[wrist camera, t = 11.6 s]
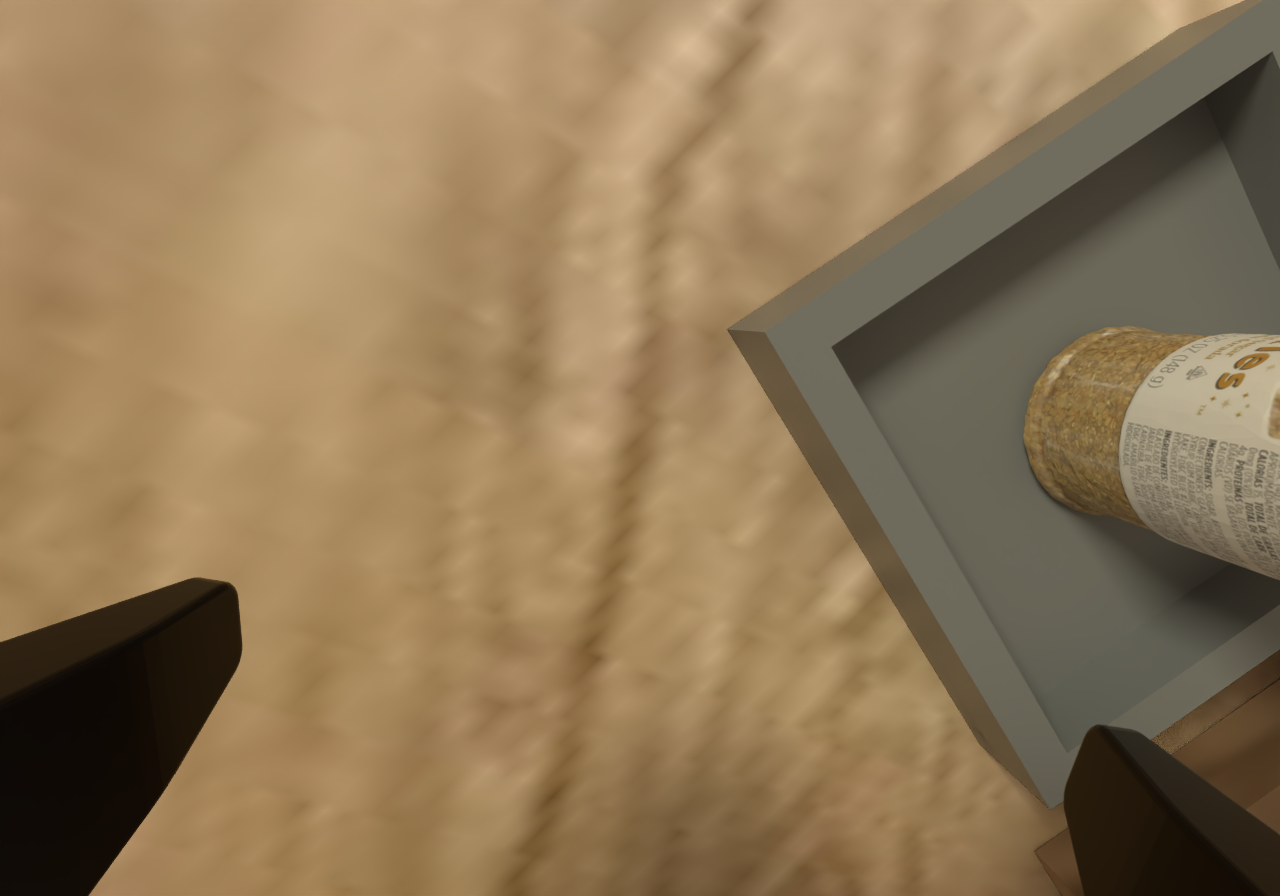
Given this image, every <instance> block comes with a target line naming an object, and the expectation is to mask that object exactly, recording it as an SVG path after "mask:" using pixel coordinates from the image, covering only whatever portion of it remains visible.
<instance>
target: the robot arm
mask: <svg viewBox="0 0 1280 896" xmlns="http://www.w3.org/2000/svg"><path fill="white" fill-rule="evenodd" d="M241 654H242V635H241V624H240V612H239V601H238V594H237V591H236V589H235V587H234V586H233V585H232V584H230V583H229V582H224V581H218V580H212V579H206V578H199V577H198V578H191V579H187V580H184V581H181V582H178V583H175V584H172V585H169V586H166V587H163V588H161V589H158V590H155V591H152V592H149V593H146V594H143V595H140V596H137V597H134V598H131V599H128V600H125V601H122V602H119V603H116V604H113V605H110V606H107V607H104V608H101V609H98V610H95V611H92V612H89V613H86V614H83V615H80V616H77V617H74V618H71V619H68V620H65V621H62V622H59V623H56V624H53V625H50V626H47V627H44V628H41V629H38V630H35V631H32V632H30V633H27V634H24V635H21V636H18V637H15V638H12V639H9V640H6V641H3V642H0V896H89V894H90V893H91V891H92V890H93V889H94V887H95V886H96V885H97V883H98V882H99V881H100V879H101V878H102V876H103V875H104V874H105V872H106V871H107V870H108V868H109V867H110V865H111V864H112V863H113V861H114V860H115V859H116V857H117V856H118V855H119V853H120V852H121V850H122V849H123V848H124V846H125V845H126V844H127V842H128V841H129V839H130V838H131V837H132V835H133V834H134V833H135V831H136V830H137V829H138V827H139V826H140V824H141V823H142V822H143V820H144V819H145V818H146V816H147V815H148V814H149V812H150V811H151V809H152V808H153V806H154V805H155V804H156V802H157V801H158V799H159V798H160V796H161V795H162V794H163V792H164V791H165V789H166V787H167V786H168V784H169V783H170V781H171V779H172V778H173V776H174V775H175V773H176V772H177V770H178V768H179V766H180V765H181V763H182V761H183V760H184V758H185V756H186V755H187V753H188V751H189V749H190V748H191V746H192V744H193V743H194V741H195V739H196V738H197V736H198V734H199V732H200V731H201V729H202V727H203V726H204V724H205V722H206V721H207V719H208V717H209V715H210V714H211V712H212V710H213V709H214V707H215V705H216V704H217V702H218V700H219V698H220V697H221V695H222V693H223V692H224V690H225V688H226V687H227V685H228V683H229V681H230V680H231V678H232V676H233V675H234V673H235V671H236V669H237V667H238V665H239V662H240V659H241ZM1063 801H1064V811H1065V816H1066V820H1067V824H1068V829H1069V833H1070V837H1071V842H1072V846H1073V851H1074V855H1075V859H1076V864H1077V868H1078V872H1079V877H1080V881H1081V885H1082V890H1083V894H1084V896H1280V834H1278V833H1277V832H1276V831H1274V830H1273V829H1272V828H1270V827H1269V826H1267V825H1266V824H1265V823H1263V822H1262V821H1261V820H1259V819H1258V818H1256V817H1255V816H1254V815H1252V814H1251V813H1250V812H1248V811H1247V810H1246V809H1244V808H1243V807H1241V806H1240V805H1239V804H1237V803H1236V802H1235V801H1233V800H1232V799H1231V798H1229V797H1228V796H1226V795H1225V794H1224V793H1222V792H1221V791H1220V790H1218V789H1217V788H1215V787H1214V786H1213V785H1211V784H1210V783H1209V782H1207V781H1206V780H1205V779H1203V778H1202V777H1200V776H1199V775H1198V774H1196V773H1195V772H1194V771H1192V770H1191V769H1190V768H1188V767H1187V766H1185V765H1184V764H1183V763H1181V762H1180V761H1179V760H1177V759H1176V758H1174V757H1173V756H1172V755H1170V754H1169V753H1168V752H1166V751H1165V750H1164V749H1162V748H1161V747H1159V746H1158V745H1157V744H1155V743H1154V742H1153V741H1151V740H1150V739H1149V738H1147V737H1146V736H1144V735H1143V734H1142V733H1140V732H1138V731H1135V730H1133V729H1127V728H1120V727H1114V726H1108V725H1102V724H1097V725H1095V726H1092V727H1091V728H1090V729H1089V730H1088V731H1087V732H1086V734H1085V736H1084V739H1083V741H1082V744H1081V746H1080V749H1079V751H1078V754H1077V756H1076V759H1075V762H1074V764H1073V767H1072V769H1071V772H1070V774H1069V777H1068V779H1067V782H1066V785H1065V789H1064V800H1063Z"/></svg>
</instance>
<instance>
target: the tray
mask: <svg viewBox="0 0 1280 896" xmlns="http://www.w3.org/2000/svg"><path fill="white" fill-rule="evenodd" d="M1128 326H1132V327H1141V328H1145V329H1149V330H1152V331H1156V332H1158V333H1165V334H1194V335H1204V336H1210V335H1214V336H1215V335H1220V334H1232V333H1236V334H1265V335H1280V0H1245V1H1242V2H1240V3H1238V4H1235V5H1233V6H1231V7H1228V8H1226V9H1224V10H1221V11H1219V12H1217V13H1214V14H1212V15H1210V16H1207V17H1205V18H1203V19H1200V20H1198V21H1196V22H1193V23H1191V24H1189V25H1186V26H1184V27H1182V28H1179V29H1178V30H1176V31H1175V32H1173V33H1172V34H1170V35H1169V36H1167V37H1166V38H1164V39H1163V40H1161V41H1160V42H1158V43H1157V44H1155V45H1154V46H1152V47H1151V48H1149V49H1148V50H1146V51H1145V52H1143V53H1142V54H1140V55H1139V56H1137V57H1136V58H1134V59H1133V60H1131V61H1130V62H1128V63H1127V64H1125V65H1124V66H1122V67H1121V68H1119V69H1118V70H1116V71H1115V72H1113V73H1112V74H1110V75H1109V76H1107V77H1106V78H1104V79H1103V80H1101V81H1100V82H1098V83H1097V84H1095V85H1094V86H1092V87H1091V88H1089V89H1088V90H1086V91H1085V92H1083V93H1082V94H1080V95H1079V96H1077V97H1076V98H1074V99H1073V100H1071V101H1070V102H1068V103H1067V104H1065V105H1064V106H1062V107H1061V108H1059V109H1058V110H1056V111H1055V112H1053V113H1052V114H1050V115H1049V116H1047V117H1046V118H1044V119H1043V120H1041V121H1040V122H1038V123H1037V124H1035V125H1034V126H1032V127H1031V128H1029V129H1028V130H1026V131H1025V132H1023V133H1022V134H1020V135H1019V136H1017V137H1016V138H1014V139H1013V140H1011V141H1010V142H1008V143H1007V144H1005V145H1004V146H1002V147H1001V148H999V149H998V150H996V151H995V152H993V153H992V154H990V155H989V156H987V157H986V158H984V159H982V160H981V161H979V162H978V163H976V164H975V165H973V166H972V167H970V168H969V169H967V170H966V171H964V172H963V173H961V174H960V175H958V176H957V177H955V178H954V179H952V180H951V181H949V182H948V183H946V184H945V185H943V186H942V187H940V188H939V189H937V190H936V191H934V192H933V193H931V194H930V195H928V196H927V197H925V198H924V199H922V200H921V201H919V202H918V203H916V204H915V205H913V206H912V207H910V208H909V209H907V210H906V211H904V212H903V213H901V214H900V215H898V216H897V217H895V218H894V219H892V220H891V221H889V222H888V223H886V224H885V225H883V226H882V227H880V228H879V229H877V230H876V231H874V232H873V233H871V234H870V235H868V236H867V237H865V238H864V239H862V240H861V241H859V242H858V243H856V244H855V245H853V246H852V247H850V248H849V249H847V250H846V251H844V252H843V253H841V254H840V255H838V256H837V257H835V258H834V259H832V260H831V261H829V262H828V263H826V264H825V265H823V266H822V267H820V268H819V269H817V270H816V271H814V272H813V273H811V274H810V275H808V276H807V277H805V278H804V279H802V280H801V281H799V282H798V283H796V284H795V285H793V286H792V287H790V288H789V289H787V290H786V291H784V292H783V293H781V294H780V295H778V296H777V297H775V298H774V299H772V300H771V301H769V302H768V303H766V304H765V305H763V306H762V307H760V308H759V309H757V310H756V311H754V312H753V313H751V314H750V315H748V316H747V317H745V318H743V319H742V320H740V321H739V322H737V323H736V324H734V325H733V326H731V327H730V328H728V329H727V330H728V331H729V333H730V335H731V336H732V338H733V340H734V341H735V343H736V345H737V346H738V348H739V350H740V351H741V353H742V355H743V356H744V358H745V359H746V361H747V363H748V364H749V366H750V368H751V369H752V371H753V373H754V374H755V376H756V378H757V379H758V381H759V382H760V384H761V386H762V387H763V389H764V391H765V392H766V394H767V396H768V397H769V399H770V401H771V402H772V404H773V405H774V407H775V409H776V410H777V412H778V414H779V415H780V417H781V419H782V420H783V422H784V424H785V425H786V427H787V428H788V430H789V432H790V433H791V435H792V437H793V438H794V440H795V442H796V443H797V445H798V447H799V448H800V450H801V451H802V453H803V455H804V456H805V458H806V460H807V461H808V463H809V465H810V466H811V468H812V470H813V471H814V473H815V474H816V476H817V478H818V479H819V481H820V483H821V484H822V486H823V488H824V489H825V491H826V493H827V494H828V496H829V497H830V499H831V501H832V502H833V504H834V506H835V507H836V509H837V511H838V512H839V514H840V516H841V517H842V519H843V520H844V522H845V524H846V525H847V527H848V529H849V530H850V532H851V534H852V535H853V537H854V539H855V540H856V542H857V543H858V545H859V547H860V548H861V550H862V552H863V553H864V555H865V557H866V558H867V560H868V562H869V563H870V565H871V566H872V568H873V570H874V571H875V573H876V575H877V576H878V578H879V580H880V581H881V583H882V585H883V586H884V588H885V589H886V591H887V593H888V594H889V596H890V598H891V599H892V601H893V603H894V604H895V606H896V608H897V609H898V611H899V612H900V614H901V616H902V617H903V619H904V621H905V622H906V624H907V626H908V627H909V629H910V631H911V632H912V634H913V635H914V637H915V639H916V640H917V642H918V644H919V645H920V647H921V649H922V650H923V652H924V654H925V655H926V657H927V659H928V660H929V662H930V663H931V665H932V667H933V668H934V670H935V672H936V673H937V675H938V677H939V678H940V680H941V682H942V683H943V685H944V686H945V688H946V690H947V691H948V693H949V695H950V696H951V698H952V700H953V701H954V703H955V705H956V706H957V708H958V709H959V711H960V713H961V714H962V716H963V718H964V719H965V721H966V723H967V724H968V726H969V728H970V729H971V731H972V732H973V734H974V736H975V737H976V739H977V741H978V742H979V744H980V745H981V746H982V747H983V748H984V749H985V750H986V751H987V752H988V753H989V754H990V755H992V756H993V757H994V758H995V759H996V760H997V761H998V762H999V763H1000V764H1001V765H1002V766H1003V767H1005V768H1006V769H1007V770H1008V771H1009V772H1010V773H1011V774H1012V775H1013V776H1014V777H1015V778H1016V779H1017V780H1019V781H1020V782H1021V783H1022V784H1023V785H1024V786H1025V787H1026V788H1027V789H1028V790H1029V791H1030V792H1032V793H1033V794H1034V795H1035V796H1036V797H1037V798H1038V799H1039V800H1040V801H1041V802H1042V803H1043V804H1044V805H1046V806H1047V807H1048V808H1049V809H1050V810H1051V809H1053V808H1054V807H1056V806H1057V805H1059V804H1060V803H1061V802H1063V800H1064V789H1065V785H1066V782H1067V779H1068V777H1069V774H1070V772H1071V769H1072V767H1073V764H1074V762H1075V759H1076V756H1077V754H1078V751H1079V749H1080V746H1081V744H1082V741H1083V739H1084V736H1085V734H1086V732H1087V731H1088V730H1089V729H1090V728H1091V727H1092V726H1095V725H1097V724H1102V725H1108V726H1114V727H1120V728H1127V729H1133V730H1135V731H1138V732H1140V733H1142V734H1143V735H1144V736H1146V737H1147V738H1149V739H1150V740H1151V739H1153V738H1154V737H1155V736H1157V735H1158V734H1160V733H1161V732H1163V731H1164V730H1165V729H1167V728H1168V727H1170V726H1171V725H1173V724H1174V723H1175V722H1177V721H1178V720H1180V719H1181V718H1183V717H1184V716H1185V715H1187V714H1188V713H1190V712H1191V711H1193V710H1194V709H1195V708H1197V707H1198V706H1200V705H1201V704H1203V703H1204V702H1205V701H1207V700H1208V699H1210V698H1211V697H1213V696H1214V695H1215V694H1217V693H1218V692H1220V691H1221V690H1222V689H1224V688H1225V687H1227V686H1228V685H1230V684H1231V683H1232V682H1234V681H1235V680H1237V679H1238V678H1240V677H1241V676H1242V675H1244V674H1245V673H1247V672H1248V671H1250V670H1251V669H1252V668H1254V667H1255V666H1257V665H1258V664H1260V663H1261V662H1262V661H1264V660H1265V659H1267V658H1268V657H1270V656H1271V655H1272V654H1274V653H1275V652H1277V651H1278V650H1280V580H1277V579H1275V578H1272V577H1269V576H1266V575H1263V574H1261V573H1258V572H1255V571H1252V570H1249V569H1247V568H1244V567H1241V566H1238V565H1235V564H1233V563H1230V562H1227V561H1224V560H1221V559H1219V558H1216V557H1213V556H1210V555H1207V554H1204V553H1202V552H1199V551H1196V550H1193V549H1190V548H1187V547H1185V546H1182V545H1180V544H1177V543H1175V542H1172V541H1170V540H1167V539H1165V538H1164V537H1162V536H1160V535H1159V534H1157V533H1156V532H1154V531H1151V530H1149V529H1145V528H1143V527H1140V526H1136V525H1133V524H1131V523H1128V522H1125V521H1122V520H1119V519H1117V518H1114V517H1111V516H1097V515H1092V514H1088V513H1084V512H1081V511H1077V510H1074V509H1072V508H1070V507H1069V506H1067V505H1065V504H1063V503H1062V502H1060V501H1058V500H1056V499H1054V498H1052V497H1051V495H1050V494H1049V493H1048V492H1047V490H1046V489H1045V488H1044V487H1043V486H1042V485H1041V484H1040V483H1039V481H1038V480H1037V478H1036V476H1035V474H1034V472H1033V470H1032V468H1031V466H1030V462H1029V458H1028V454H1027V451H1026V448H1025V445H1024V440H1023V432H1024V425H1025V414H1026V410H1027V406H1028V401H1029V398H1030V395H1031V392H1032V390H1033V387H1034V385H1035V383H1036V381H1037V380H1038V378H1039V377H1040V376H1041V375H1042V373H1043V372H1044V370H1045V367H1046V365H1047V364H1048V363H1049V362H1050V361H1051V359H1052V358H1053V357H1054V356H1056V355H1058V354H1059V353H1060V352H1061V351H1062V350H1063V349H1064V348H1065V347H1067V346H1068V345H1070V344H1071V343H1073V342H1074V341H1075V340H1077V339H1079V338H1080V337H1082V336H1084V335H1086V334H1089V333H1093V332H1096V331H1099V330H1101V329H1103V328H1107V327H1128Z"/></svg>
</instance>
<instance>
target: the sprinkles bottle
mask: <svg viewBox="0 0 1280 896" xmlns="http://www.w3.org/2000/svg"><path fill="white" fill-rule="evenodd" d="M1023 440H1024V445H1025V448H1026V451H1027V454H1028V458H1029V462H1030V466H1031V468H1032V470H1033V472H1034V474H1035V476H1036V478H1037V480H1038V481H1039V483H1040V484H1041V485H1042V486H1043V487H1044V488H1045V489H1046V490H1047V492H1048V493H1049V494H1050V495H1051V497H1052V498H1054V499H1056V500H1058V501H1060V502H1062V503H1063V504H1065V505H1067V506H1069V507H1070V508H1072V509H1074V510H1077V511H1081V512H1084V513H1088V514H1092V515H1097V516H1111V517H1114V518H1117V519H1119V520H1122V521H1125V522H1128V523H1131V524H1133V525H1136V526H1140V527H1143V528H1145V529H1149V530H1151V531H1154V532H1156V533H1157V534H1159V535H1160V536H1162V537H1164V538H1165V539H1167V540H1170V541H1172V542H1175V543H1177V544H1180V545H1182V546H1185V547H1187V548H1190V549H1193V550H1196V551H1199V552H1202V553H1204V554H1207V555H1210V556H1213V557H1216V558H1219V559H1221V560H1224V561H1227V562H1230V563H1233V564H1235V565H1238V566H1241V567H1244V568H1247V569H1249V570H1252V571H1255V572H1258V573H1261V574H1263V575H1266V576H1269V577H1272V578H1275V579H1277V580H1280V335H1265V334H1236V333H1232V334H1220V335H1215V336H1214V335H1210V336H1204V335H1194V334H1165V333H1158V332H1156V331H1152V330H1149V329H1145V328H1141V327H1132V326H1128V327H1107V328H1103V329H1101V330H1099V331H1096V332H1093V333H1089V334H1086V335H1084V336H1082V337H1080V338H1079V339H1077V340H1075V341H1074V342H1073V343H1071V344H1070V345H1068V346H1067V347H1065V348H1064V349H1063V350H1062V351H1061V352H1060V353H1059V354H1058V355H1056V356H1054V357H1053V358H1052V359H1051V361H1050V362H1049V363H1048V364H1047V365H1046V367H1045V370H1044V372H1043V373H1042V375H1041V376H1040V377H1039V378H1038V380H1037V381H1036V383H1035V385H1034V387H1033V390H1032V392H1031V395H1030V398H1029V401H1028V406H1027V410H1026V414H1025V425H1024V432H1023Z"/></svg>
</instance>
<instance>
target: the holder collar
mask: <svg viewBox="0 0 1280 896" xmlns="http://www.w3.org/2000/svg"><path fill="white" fill-rule="evenodd" d="M1172 756H1173V757H1174V758H1176V759H1177V760H1179V761H1180V762H1181V763H1183V764H1184V765H1185V766H1187V767H1188V768H1190V769H1191V770H1192V771H1194V772H1195V773H1196V774H1198V775H1199V776H1200V777H1202V778H1203V779H1205V780H1206V781H1207V782H1209V783H1210V784H1211V785H1213V786H1214V787H1215V788H1217V789H1218V790H1220V791H1221V792H1222V793H1224V794H1225V795H1226V796H1228V797H1229V798H1231V799H1232V800H1233V801H1235V802H1236V803H1237V804H1239V805H1240V806H1241V807H1243V808H1244V809H1246V810H1247V811H1248V812H1250V813H1251V814H1252V815H1254V816H1255V817H1256V818H1258V819H1259V820H1261V821H1262V822H1263V823H1265V824H1266V825H1267V826H1269V827H1270V828H1272V829H1273V830H1274V831H1276V832H1277V833H1278V834H1280V679H1279V680H1278V681H1276V682H1275V683H1274V684H1272V685H1271V686H1269V687H1268V688H1266V689H1265V690H1264V691H1262V692H1261V693H1259V694H1258V695H1256V696H1255V697H1254V698H1252V699H1251V700H1249V701H1248V702H1246V703H1245V704H1244V705H1242V706H1241V707H1239V708H1238V709H1237V710H1235V711H1234V712H1232V713H1231V714H1229V715H1228V716H1227V717H1225V718H1224V719H1222V720H1221V721H1219V722H1218V723H1217V724H1215V725H1214V726H1212V727H1211V728H1209V729H1208V730H1207V731H1205V732H1204V733H1202V734H1201V735H1200V736H1198V737H1197V738H1195V739H1194V740H1192V741H1191V742H1190V743H1188V744H1187V745H1185V746H1184V747H1182V748H1181V749H1180V750H1178V751H1177V752H1175V753H1174V754H1173V755H1172ZM1034 852H1035V853H1036V855H1037V857H1038V858H1039V860H1040V862H1041V863H1042V865H1043V866H1044V868H1045V870H1046V871H1047V873H1048V875H1049V876H1050V878H1051V880H1052V881H1053V883H1054V884H1055V886H1056V888H1057V889H1058V891H1059V893H1060V894H1061V896H1084V894H1083V890H1082V885H1081V881H1080V877H1079V872H1078V868H1077V864H1076V859H1075V855H1074V851H1073V846H1072V842H1071V837H1070V833H1069V829H1068V828H1067V829H1066V830H1064V831H1063V832H1062V833H1060V834H1059V835H1057V836H1056V837H1054V838H1053V839H1052V840H1050V841H1049V842H1047V843H1046V844H1044V845H1043V846H1042V847H1040V848H1039V849H1037V850H1036V851H1034Z"/></svg>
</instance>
